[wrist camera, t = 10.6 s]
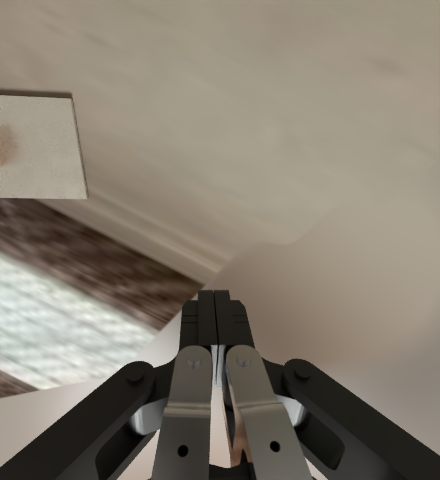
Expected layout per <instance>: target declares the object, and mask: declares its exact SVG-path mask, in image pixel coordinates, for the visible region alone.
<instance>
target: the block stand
mask: <svg viewBox="0 0 440 480" xmlns="http://www.w3.org/2000/svg"><path fill="white" fill-rule="evenodd" d="M0 198H50V199H88V191H87V185H86V179H85V173H84V167H83V161H82V155H81V149H80V142H79V136H78V130H77V124H76V118H75V112H74V106H73V100H72V99H68V98H47V97H26V96H5V95H0Z"/></svg>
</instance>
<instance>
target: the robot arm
mask: <svg viewBox="0 0 440 480" xmlns="http://www.w3.org/2000/svg"><path fill="white" fill-rule="evenodd" d="M215 377H216V387H222V392H223V400H222V408H223V415H224V420H225V427H226V433H227V439H228V445H229V452H230V462H231V468H223V467H219V466H215V465H211V464H209V452H210V420H211V406H210V405H211V395H212V387H215ZM158 429H160V434H159V439H158V444H157V450H156V455H155V461H154V466H153V471H152V477H151V478H150V479H148V480H316V479H315V478H314V477H312V476H311V473H310V470H309V468H308V465H307V463H306V460H305V457H306V458H307V459H308V460H309V461H310V462H311V463H312V464H313V465H314V466H315V467H316V468H317V469H318V470H319V471H320V472H321V473H322V474H323V475H324V476H325V477H326V478H327V479H328V480H440V456H439V455H438V454H436V453H435V452H434V451H432V450H431V449H429V448H428V447H427V446H425V445H424V444H423V443H421V442H420V441H418V440H417V439H416V438H414V437H413V436H411V435H410V434H409V433H407V432H406V431H405V430H403V429H402V428H400V427H399V426H398V425H396V424H395V423H393V422H392V421H391V420H389V419H388V418H386V417H385V416H384V415H382V414H381V413H380V412H378V411H377V410H375V409H374V408H373V407H371V406H370V405H368V404H367V403H366V402H364V401H363V400H361V399H360V398H359V397H357V396H356V395H354V394H353V393H352V392H350V391H349V390H348V389H346V388H345V387H343V386H342V385H341V384H339V383H338V382H336V381H335V380H334V379H332V378H331V377H329V376H328V375H327V374H325V373H324V372H323V371H321V370H320V369H318V368H317V367H316V366H314V365H313V364H311V363H310V362H308V361H305V360H302V359H292V360H289V361H287V362H286V363H285V365H284V366H283V365H279V364H276V363H272V362H269V361H267V360H265V359H264V358H262V357H261V355H260V354H259V352H258V351H257V350H256V349H255V347H254V342H253V338H252V334H251V330H250V326H249V321H248V317H247V313H246V309H245V307H244V305H243V304H242V303H241V302H240V301H239V300H230V295H229V291H228V290H214V292H213V290H198V300H196V301H195V300H187V301H186V303H185V304H184V306H183V307H182V317H181V331H180V345H179V351H178V354H177V356H176V357H175V358H174V359H173V360H172V361H171V362H169V363H167V364H164V365H162V366H159V367H155V368H153V366H152V365H151V364H149V363H147V362H144V361H135V362H131V363H129V364H127V365H125V366H124V367H122V368H121V369H120V370H119V371H117V372H116V373H115V374H114V375H112V376H111V377H110V378H109V379H108V380H107V381H105V382H104V383H103V384H102V385H100V386H99V387H98V388H97V389H95V390H94V391H93V392H92V393H90V394H89V395H88V396H87V397H86V398H84V399H83V400H82V401H81V402H79V403H78V404H77V405H76V406H75V407H73V408H72V409H71V410H70V411H69V412H67V413H66V414H65V415H64V416H62V417H61V418H60V419H59V420H57V422H55V423H54V424H53V425H51V426H50V427H49V428H48V429H46V430H45V431H44V432H43V433H42V434H40V435H39V436H38V437H37V438H35V439H34V440H33V441H32V442H31V443H30V444H28V445H27V446H26V447H25V448H23V449H22V450H21V451H20V452H18V453H17V454H16V455H15V456H14V457H12V458H11V459H10V460H9V461H7V462H6V463H5V464H4V465H3V466H1V467H0V480H117V478H118V477H119V476H120V475H121V474H122V473H123V471H124V470H125V469H126V468H127V467H128V466H129V464H130V463H131V462H132V461H133V460H134V459H135V457H136V456H137V455H138V454H139V453H140V452H141V450H142V449H143V448H144V447H145V446H146V445H147V443H148V442H149V441H150V440H151V438H153V436H154V435H155V433H156V431H157V430H158ZM304 456H305V457H304Z"/></svg>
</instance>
